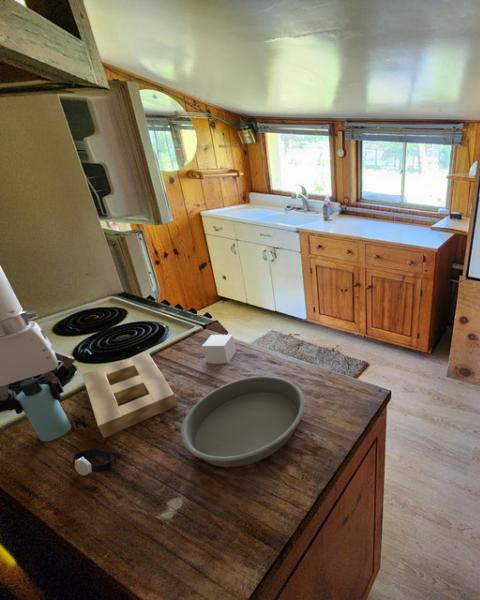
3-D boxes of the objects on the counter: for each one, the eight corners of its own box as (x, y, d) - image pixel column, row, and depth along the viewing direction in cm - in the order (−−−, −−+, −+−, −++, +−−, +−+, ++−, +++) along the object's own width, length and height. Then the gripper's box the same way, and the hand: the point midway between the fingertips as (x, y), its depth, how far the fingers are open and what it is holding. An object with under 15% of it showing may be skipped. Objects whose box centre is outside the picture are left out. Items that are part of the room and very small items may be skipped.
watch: (66, 471, 61) (59, 458, 60) (93, 451, 66) (86, 438, 64) (99, 481, 60) (92, 467, 58) (124, 459, 64) (118, 446, 63)
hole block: (103, 438, 69) (97, 425, 67) (87, 385, 83) (82, 374, 81) (178, 405, 78) (174, 394, 76) (151, 363, 92) (148, 352, 91)
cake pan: (162, 482, 60) (155, 466, 58) (211, 393, 82) (207, 378, 80) (298, 468, 64) (296, 452, 62) (310, 386, 86) (309, 372, 84)
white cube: (206, 363, 93) (201, 345, 91) (215, 351, 98) (211, 334, 96) (227, 363, 93) (223, 345, 91) (236, 351, 99) (232, 334, 96)
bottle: (40, 445, 66) (10, 393, 61) (39, 432, 69) (10, 381, 64) (72, 432, 70) (46, 382, 64) (70, 420, 72) (44, 371, 67)
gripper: (60, 304, 66) (92, 376, 74) (-79, 334, 55) (-25, 415, 63) (64, 317, 62) (97, 392, 69) (-87, 352, 50) (-27, 437, 58)
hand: (39, 402), depth 66 cm, fingers closed on bottle, 4 cm apart
